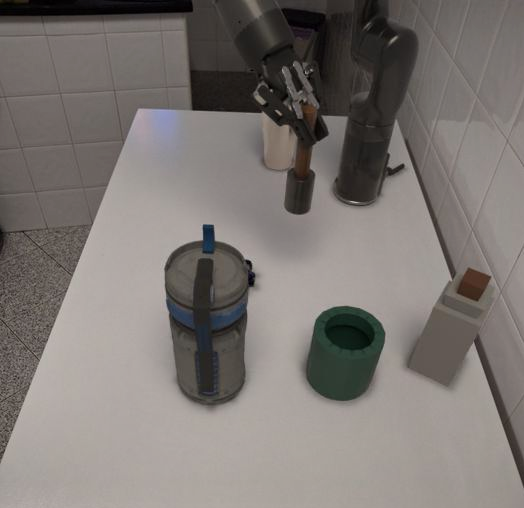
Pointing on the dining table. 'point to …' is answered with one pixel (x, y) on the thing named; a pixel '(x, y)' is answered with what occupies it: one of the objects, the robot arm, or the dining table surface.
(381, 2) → the robot arm
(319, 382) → the green tube segment
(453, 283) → the perfume bottle
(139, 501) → the dining table surface
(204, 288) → the beverage bottle
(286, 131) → the metal cup with utensils
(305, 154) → the pestle
